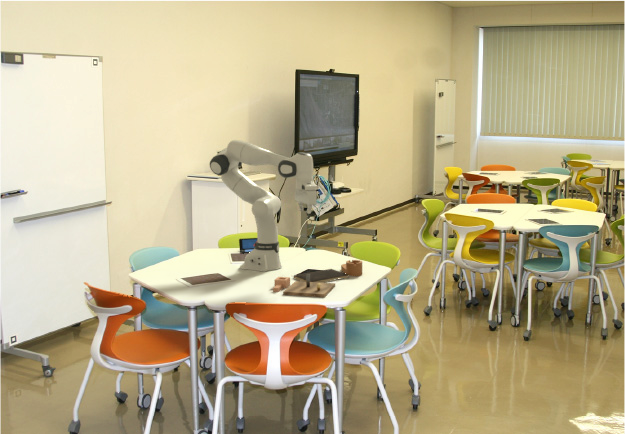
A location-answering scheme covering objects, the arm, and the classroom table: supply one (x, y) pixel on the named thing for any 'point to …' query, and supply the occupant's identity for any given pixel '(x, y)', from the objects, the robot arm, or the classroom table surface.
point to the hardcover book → (322, 276)
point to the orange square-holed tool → (281, 283)
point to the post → (307, 280)
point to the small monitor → (247, 244)
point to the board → (309, 289)
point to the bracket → (352, 268)
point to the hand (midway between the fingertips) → (305, 212)
